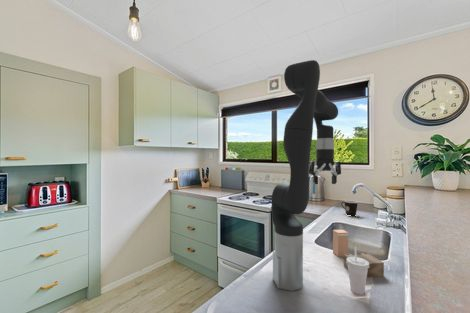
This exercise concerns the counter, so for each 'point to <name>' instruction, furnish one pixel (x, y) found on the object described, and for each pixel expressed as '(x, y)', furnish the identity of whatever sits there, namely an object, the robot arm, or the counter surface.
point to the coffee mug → (350, 207)
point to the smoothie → (357, 273)
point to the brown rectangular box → (374, 264)
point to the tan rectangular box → (340, 242)
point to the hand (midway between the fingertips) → (324, 184)
